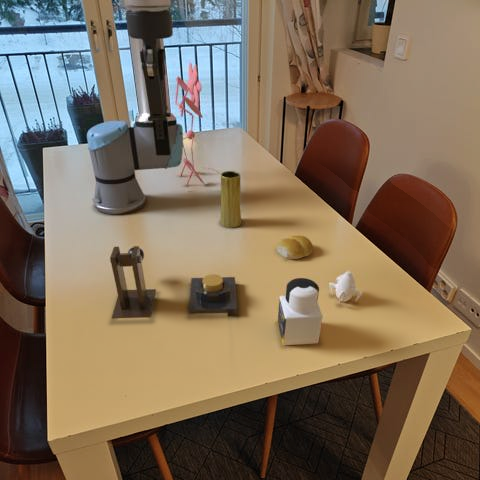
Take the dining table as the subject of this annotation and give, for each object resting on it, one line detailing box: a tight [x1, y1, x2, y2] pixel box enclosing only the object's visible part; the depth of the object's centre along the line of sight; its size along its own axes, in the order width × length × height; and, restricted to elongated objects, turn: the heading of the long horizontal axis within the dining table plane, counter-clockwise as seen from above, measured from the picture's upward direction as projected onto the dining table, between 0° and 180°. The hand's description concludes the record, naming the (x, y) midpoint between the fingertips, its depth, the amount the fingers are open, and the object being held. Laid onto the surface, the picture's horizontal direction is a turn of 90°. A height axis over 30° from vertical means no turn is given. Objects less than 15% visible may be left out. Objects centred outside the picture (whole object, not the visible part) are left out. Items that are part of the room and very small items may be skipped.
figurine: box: [174, 62, 219, 193], centre depth 140 cm, size 15×26×35 cm, turn 19°
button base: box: [188, 276, 238, 317], centre depth 95 cm, size 12×10×4 cm
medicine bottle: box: [277, 277, 323, 346], centre depth 84 cm, size 7×7×12 cm
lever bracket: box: [109, 245, 156, 319], centre depth 89 cm, size 10×8×14 cm
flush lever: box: [119, 246, 145, 268], centre depth 91 cm, size 13×4×4 cm, turn 3°
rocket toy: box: [328, 270, 363, 305], centre depth 94 cm, size 5×5×8 cm
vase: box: [220, 170, 242, 229], centre depth 120 cm, size 6×6×14 cm
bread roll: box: [276, 234, 314, 260], centre depth 111 cm, size 8×9×4 cm
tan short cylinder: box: [202, 273, 223, 292], centre depth 93 cm, size 4×4×2 cm
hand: (163, 153), depth 86 cm, fingers closed
